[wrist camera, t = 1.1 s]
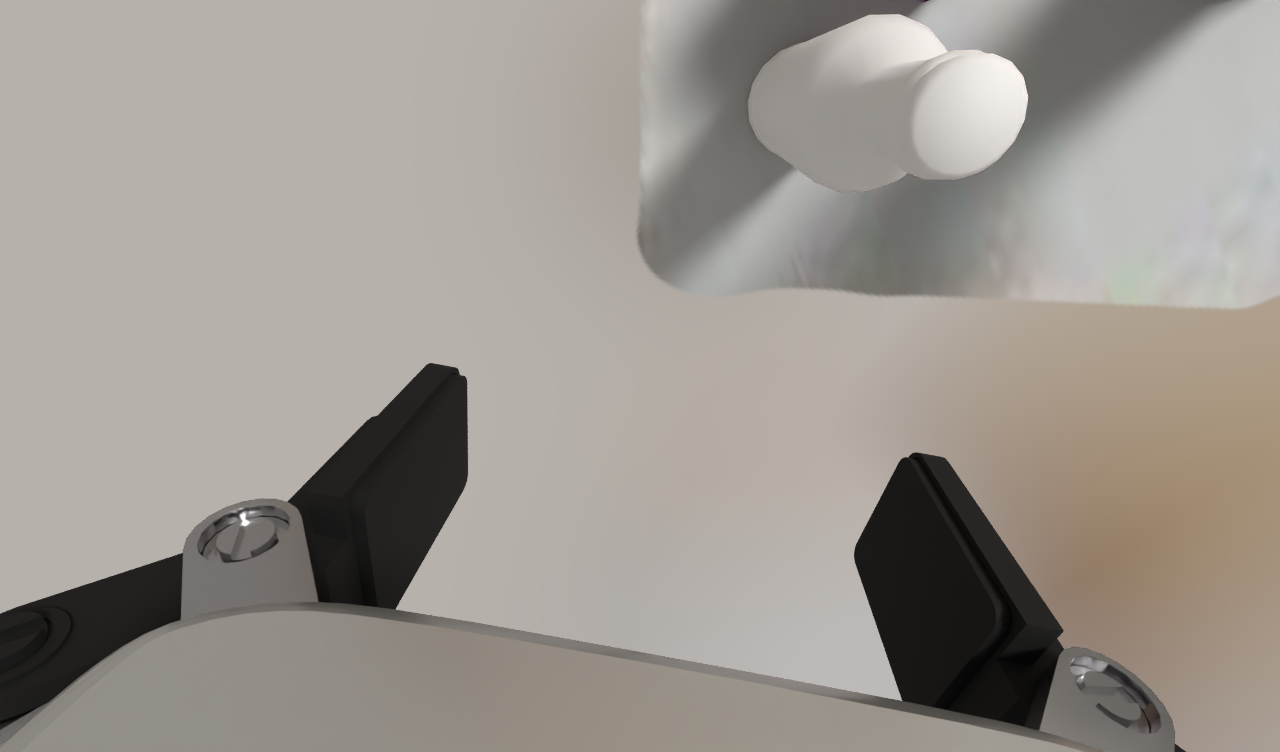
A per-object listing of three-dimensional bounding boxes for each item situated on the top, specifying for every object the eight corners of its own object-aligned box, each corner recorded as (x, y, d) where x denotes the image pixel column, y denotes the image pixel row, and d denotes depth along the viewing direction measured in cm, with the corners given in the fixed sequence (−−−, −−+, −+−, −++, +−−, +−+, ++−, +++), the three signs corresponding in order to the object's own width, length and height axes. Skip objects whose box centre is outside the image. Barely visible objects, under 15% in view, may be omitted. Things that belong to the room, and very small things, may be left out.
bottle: (730, 81, 42) (797, 66, 16) (824, 21, 40) (1087, -115, 13) (770, 173, 45) (883, 286, 19) (860, 122, 43) (1132, 171, 16)
